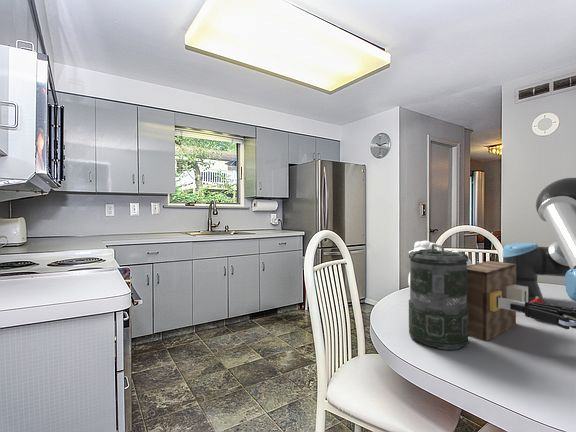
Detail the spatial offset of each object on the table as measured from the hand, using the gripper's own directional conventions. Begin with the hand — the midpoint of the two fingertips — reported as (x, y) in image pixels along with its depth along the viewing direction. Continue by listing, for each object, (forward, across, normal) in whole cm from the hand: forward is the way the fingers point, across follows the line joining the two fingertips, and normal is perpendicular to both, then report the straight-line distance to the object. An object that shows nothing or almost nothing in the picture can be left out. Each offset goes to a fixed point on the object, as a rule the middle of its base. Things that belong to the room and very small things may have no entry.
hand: (499, 302), depth 90 cm
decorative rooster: (+29, +22, -11) cm, 38 cm away
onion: (-2, +28, -11) cm, 30 cm away
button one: (0, +12, -2) cm, 13 cm away
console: (+6, +6, -11) cm, 14 cm away
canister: (+11, -14, -11) cm, 21 cm away
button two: (+3, 0, -2) cm, 4 cm away
